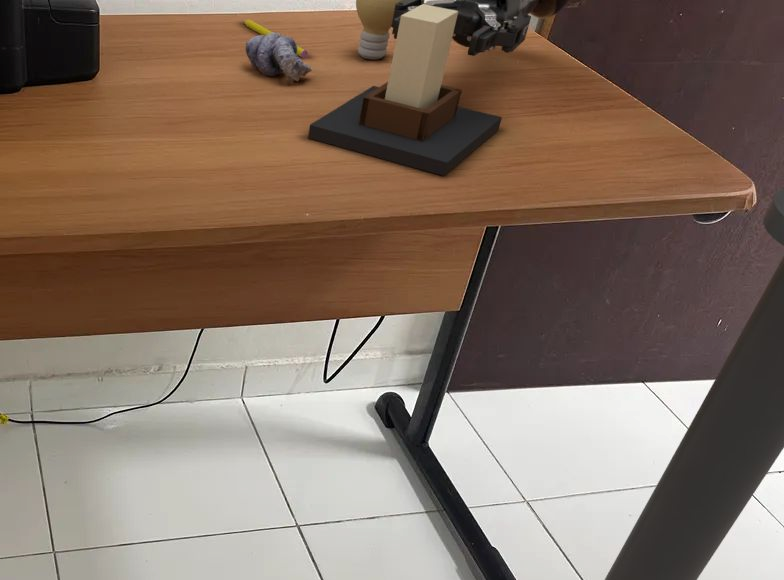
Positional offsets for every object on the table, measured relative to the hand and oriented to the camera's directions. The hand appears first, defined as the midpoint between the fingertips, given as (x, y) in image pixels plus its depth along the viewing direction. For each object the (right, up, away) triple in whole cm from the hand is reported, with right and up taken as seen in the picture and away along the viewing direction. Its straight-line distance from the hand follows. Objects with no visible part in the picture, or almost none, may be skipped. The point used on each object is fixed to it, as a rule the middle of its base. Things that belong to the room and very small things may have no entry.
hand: (434, 37), depth 96 cm
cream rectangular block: (-2, -7, +4) cm, 9 cm away
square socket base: (-2, -9, +5) cm, 10 cm away
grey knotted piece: (-15, +4, +19) cm, 24 cm away
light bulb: (-1, +9, +25) cm, 26 cm away
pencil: (-13, +14, +30) cm, 35 cm away
